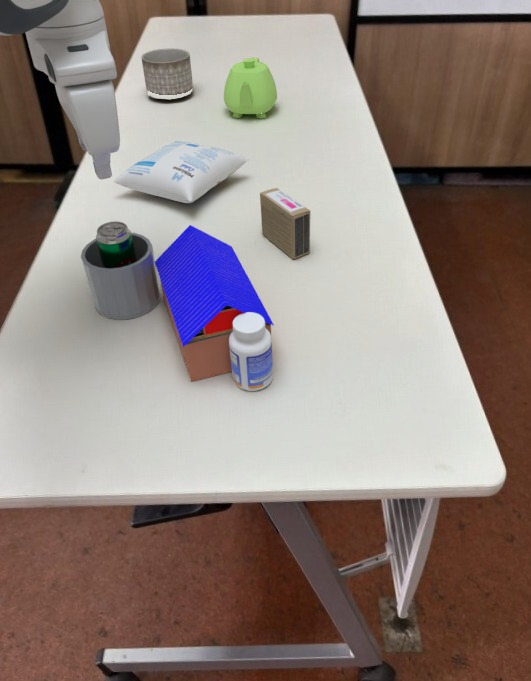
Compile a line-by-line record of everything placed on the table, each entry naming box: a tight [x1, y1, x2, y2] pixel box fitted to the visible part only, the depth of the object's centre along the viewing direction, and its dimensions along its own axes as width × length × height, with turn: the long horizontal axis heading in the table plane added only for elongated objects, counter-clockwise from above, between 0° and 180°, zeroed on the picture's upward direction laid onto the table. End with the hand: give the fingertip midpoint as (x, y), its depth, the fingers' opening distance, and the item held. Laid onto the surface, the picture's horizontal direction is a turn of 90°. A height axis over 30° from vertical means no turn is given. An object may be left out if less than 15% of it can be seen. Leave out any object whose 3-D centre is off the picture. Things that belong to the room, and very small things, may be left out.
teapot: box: [223, 57, 278, 119], centre depth 143 cm, size 20×13×13 cm
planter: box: [140, 48, 194, 95], centre depth 154 cm, size 13×13×10 cm
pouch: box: [112, 140, 250, 204], centre depth 114 cm, size 8×19×20 cm
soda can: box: [95, 220, 137, 269], centre depth 85 cm, size 5×5×12 cm
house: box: [155, 224, 275, 382], centre depth 80 cm, size 12×20×12 cm, turn 19°
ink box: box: [259, 187, 311, 260], centre depth 98 cm, size 10×4×8 cm, turn 32°
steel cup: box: [80, 232, 162, 321], centre depth 87 cm, size 10×10×9 cm
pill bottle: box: [229, 312, 274, 392], centre depth 73 cm, size 5×5×10 cm
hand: (95, 162), depth 75 cm, fingers open, 8 cm apart
